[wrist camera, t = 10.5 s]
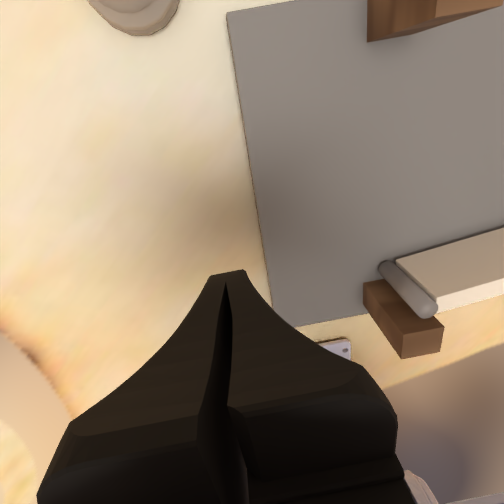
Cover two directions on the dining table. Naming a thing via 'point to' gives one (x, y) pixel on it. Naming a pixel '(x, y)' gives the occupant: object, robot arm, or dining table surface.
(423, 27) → the gate posts
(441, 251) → the gate leaf
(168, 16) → the rook chess piece
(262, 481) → the robot arm
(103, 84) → the dining table surface
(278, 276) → the base
